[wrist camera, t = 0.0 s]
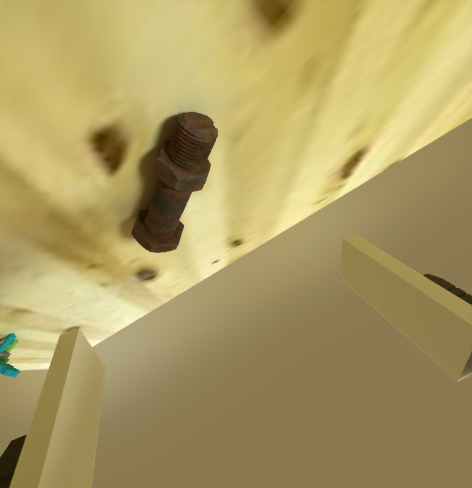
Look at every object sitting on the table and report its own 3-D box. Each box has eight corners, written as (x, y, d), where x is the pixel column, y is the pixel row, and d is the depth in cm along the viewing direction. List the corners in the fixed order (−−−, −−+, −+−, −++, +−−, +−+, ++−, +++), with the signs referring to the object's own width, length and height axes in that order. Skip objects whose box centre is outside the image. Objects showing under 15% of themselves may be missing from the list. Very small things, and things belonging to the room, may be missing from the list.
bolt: (194, 92, 22) (155, 208, 32) (147, 100, 18) (121, 226, 29) (246, 139, 21) (189, 240, 32) (208, 156, 18) (158, 263, 29)
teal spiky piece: (-61, 352, 40) (3, 383, 41) (-24, 317, 43) (34, 347, 44) (-31, 354, 49) (21, 379, 50) (-3, 325, 52) (45, 349, 54)
